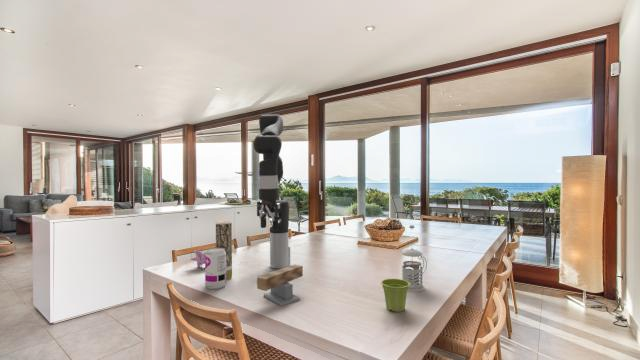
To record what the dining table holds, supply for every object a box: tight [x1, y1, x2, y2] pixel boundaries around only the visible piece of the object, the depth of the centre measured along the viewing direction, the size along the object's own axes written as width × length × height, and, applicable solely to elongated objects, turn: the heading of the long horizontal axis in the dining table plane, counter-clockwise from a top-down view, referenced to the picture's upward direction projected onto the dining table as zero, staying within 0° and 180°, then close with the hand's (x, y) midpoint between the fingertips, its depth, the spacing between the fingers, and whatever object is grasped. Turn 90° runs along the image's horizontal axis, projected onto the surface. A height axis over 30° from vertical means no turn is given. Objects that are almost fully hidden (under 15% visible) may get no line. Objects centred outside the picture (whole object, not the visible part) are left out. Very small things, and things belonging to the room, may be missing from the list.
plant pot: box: [380, 278, 410, 312], centre depth 108 cm, size 9×9×9 cm
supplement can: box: [204, 247, 227, 290], centre depth 131 cm, size 8×8×15 cm
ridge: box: [263, 282, 301, 307], centre depth 117 cm, size 8×12×6 cm, turn 40°
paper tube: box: [215, 220, 233, 281], centre depth 142 cm, size 7×7×25 cm
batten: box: [256, 263, 304, 292], centre depth 117 cm, size 20×4×4 cm, turn 144°
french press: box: [401, 224, 428, 292], centre depth 128 cm, size 10×12×25 cm
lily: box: [189, 249, 206, 272], centre depth 157 cm, size 12×12×10 cm
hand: (269, 228), depth 124 cm, fingers open, 8 cm apart
